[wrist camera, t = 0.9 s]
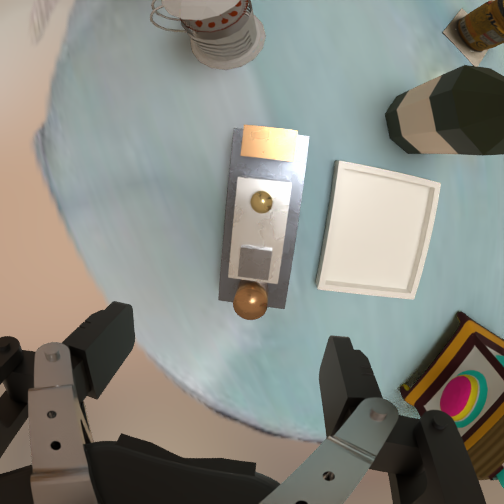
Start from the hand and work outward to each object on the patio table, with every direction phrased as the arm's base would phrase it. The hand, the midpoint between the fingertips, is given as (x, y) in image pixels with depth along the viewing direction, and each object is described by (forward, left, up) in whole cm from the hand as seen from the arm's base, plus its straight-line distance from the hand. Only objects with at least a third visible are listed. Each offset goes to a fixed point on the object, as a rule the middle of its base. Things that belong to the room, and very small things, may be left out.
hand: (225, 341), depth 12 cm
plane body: (0, 0, -28) cm, 28 cm away
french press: (-23, -8, -28) cm, 37 cm away
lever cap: (0, 0, -23) cm, 23 cm away
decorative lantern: (+21, +38, -28) cm, 52 cm away
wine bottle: (-15, +18, -28) cm, 37 cm away
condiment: (-33, +28, -28) cm, 52 cm away
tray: (0, +15, -28) cm, 32 cm away
